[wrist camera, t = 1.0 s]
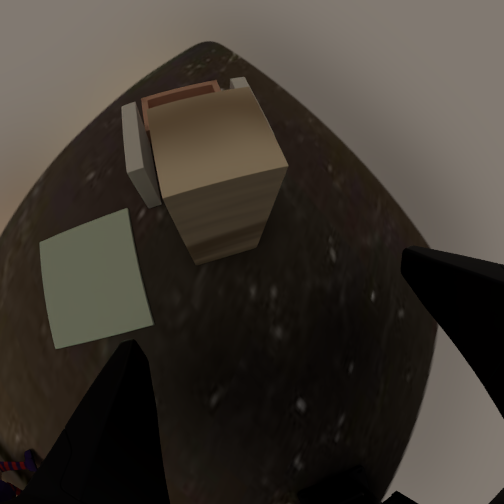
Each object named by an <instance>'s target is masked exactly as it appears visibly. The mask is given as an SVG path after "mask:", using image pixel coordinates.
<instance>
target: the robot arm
mask: <svg viewBox="0 0 504 504" xmlns="http://www.w3.org/2000/svg"><path fill="white" fill-rule="evenodd" d="M401 274H402V276H403V277H404V278H405V280H406V281H407V283H408V284H409V285H410V287H411V288H412V290H413V291H414V292H415V294H416V295H417V297H418V298H419V300H420V301H421V302H422V304H423V305H424V307H425V308H426V309H427V310H428V312H429V313H430V314H431V315H432V316H433V318H434V319H435V320H436V321H437V323H438V324H439V325H440V326H441V327H442V329H443V330H444V331H445V333H446V334H447V335H448V336H449V338H450V339H451V340H452V342H453V343H454V344H455V346H456V347H457V348H458V350H459V351H460V352H461V354H462V355H463V357H464V358H465V359H466V361H467V362H468V364H469V365H470V366H471V368H472V369H473V371H474V372H475V374H476V375H477V377H478V378H479V379H480V381H481V383H482V384H483V386H485V389H486V391H487V392H488V394H489V395H490V397H491V399H492V400H493V402H494V403H495V405H496V407H497V408H498V410H499V412H500V413H501V415H502V417H503V419H504V265H503V264H498V263H493V262H489V261H485V260H481V259H476V258H472V257H467V256H462V255H458V254H453V253H448V252H443V251H438V250H434V249H429V248H423V247H418V246H410V247H408V248H405V249H404V250H403V253H402V261H401ZM359 469H360V470H359ZM358 470H359V471H358ZM357 471H358V472H357ZM303 494H305V495H304V496H302V495H303ZM297 496H298V498H299V500H300V503H301V504H418V503H416V502H415V501H413V500H411V499H410V498H408V497H406V496H404V495H403V494H401V493H400V492H398V491H395V492H394V493H393V494H392V496H391V497H389V498H388V499H387V500H385V501H384V502H383V503H382V502H381V501H380V500H379V499H378V498H377V497H376V496H375V495H374V494H373V493H372V492H371V491H370V490H369V486H368V482H367V478H366V474H365V470H364V468H363V467H362V466H361V465H360V466H356V467H355V468H353V469H351V470H349V471H347V472H344V473H342V474H340V475H338V476H336V477H334V478H332V479H329V480H327V481H325V482H322V483H320V484H318V485H315V486H313V487H310V488H308V489H305V490H302V491H300V492H299V493H298V494H297ZM0 504H170V500H169V495H168V490H167V485H166V479H165V473H164V467H163V460H162V453H161V445H160V437H159V428H158V417H157V408H156V402H155V396H154V391H153V386H152V380H151V374H150V368H149V362H148V359H147V357H146V355H145V354H144V352H143V351H142V349H141V348H140V346H139V345H138V343H137V342H136V340H134V339H129V340H125V341H122V342H121V343H120V344H119V346H118V347H117V348H116V350H115V351H114V353H113V354H112V356H111V357H110V358H109V360H108V361H107V363H106V364H105V366H104V367H103V369H102V370H101V372H100V373H99V375H98V376H97V378H96V379H95V381H94V382H93V384H92V385H91V387H90V388H89V390H88V391H87V393H86V394H85V396H84V397H83V399H82V400H81V402H80V404H79V405H78V407H77V408H76V410H75V411H74V413H73V415H72V416H71V418H70V419H69V421H68V423H67V424H66V426H65V429H63V431H62V432H61V434H60V436H59V437H58V439H57V441H56V442H55V444H54V445H53V447H52V449H51V450H50V452H49V453H48V455H47V456H46V458H45V459H44V461H43V462H42V464H41V465H40V467H39V468H38V469H37V471H36V472H35V474H34V475H33V477H32V478H31V480H30V481H29V483H28V484H27V486H26V487H25V489H24V490H23V491H22V492H21V493H20V494H19V495H18V496H17V497H15V498H13V499H11V500H8V501H5V502H1V503H0ZM489 504H504V488H503V489H502V490H501V491H500V492H499V493H498V494H497V495H496V497H495V498H494V499H493V500H492V501H491V502H490V503H489Z"/></svg>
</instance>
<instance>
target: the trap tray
mask: <svg viewBox="0 0 504 504" xmlns="http://www.w3.org/2000/svg"><path fill="white" fill-rule="evenodd" d="M219 91H221V90H220V88H219V85H218V83H217V81H216V80H214V81H209V82H204V83H199V84H194V85H190V86H186V87H181V88H177V89H173V90H169V91H166V92H162V93H158V94H155V95H152V96H148V97H145V98H142V99H141V100H142V109H143V116H144V124H145V131H146V134H147V137H148V139H149V142H150V143H152V141H151V135H150V129H149V123H148V116H147V109H149V108H153V107H156V106H159V105H163V104H167V103H170V102H174V101H178V100H182V99H186V98H190V97H195V96H199V95H204V94H208V93H213V92H219Z"/></svg>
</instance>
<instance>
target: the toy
mask: <svg viewBox="0 0 504 504" xmlns="http://www.w3.org/2000/svg"><path fill="white" fill-rule="evenodd" d="M22 469H29V471H33V472H36V471H37V466H36V464H35V459H34V457H33V454H32V452H31V450H27V451H25V462H0V503H1V502H5V501H8V500H11V499H13V498H15V497H16V495H19V494H20V493H21V492H22V490H20V489H19V488H17V487H15V486H14V485H12V484H11V483H8V482H7V483H6V482H4V481H2V480H1V472H5V471H8V470H22Z"/></svg>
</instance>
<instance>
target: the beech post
mask: <svg viewBox="0 0 504 504" xmlns="http://www.w3.org/2000/svg"><path fill="white" fill-rule="evenodd" d="M147 116H148V123H149V129H150V135H151V141H152V147H153V153H154V158H155V164H156V169H157V174H158V179H159V184H160V189H161V194H162V198H163V200H164V203H165V205H166V207H167V209H168V211H169V213H170V215H171V217H172V219H173V221H174V223H175V225H176V227H177V229H178V231H179V233H180V235H181V237H182V239H183V241H184V243H185V245H186V247H187V249H188V251H189V253H190V255H191V257H192V259H193V261H194V263H195V264H196V266H197V265H201V264H204V263H207V262H211V261H214V260H217V259H221V258H224V257H227V256H231V255H234V254H237V253H241V252H244V251H247V250H250V249H254V248H257V245H258V243H259V240H260V238H261V235H262V233H263V230H264V227H265V225H266V222H267V220H268V217H269V215H270V212H271V209H272V207H273V204H274V202H275V199H276V197H277V194H278V191H279V189H280V186H281V184H282V181H283V179H284V176H285V173H286V171H287V168H288V164H287V162H286V159H285V157H284V155H283V153H282V151H281V149H280V147H279V145H278V142H277V140H276V138H275V136H274V134H273V132H272V130H271V128H270V126H269V124H268V122H267V120H266V118H265V116H264V114H263V112H262V110H261V108H260V106H259V104H258V103H257V101H256V99H255V97H254V95H253V93H252V91H251V89H250V88H249V87H242V88H236V89H230V90H224V91H219V92H213V93H208V94H204V95H199V96H195V97H190V98H186V99H182V100H178V101H174V102H170V103H167V104H163V105H159V106H156V107H153V108H149V109H147Z"/></svg>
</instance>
